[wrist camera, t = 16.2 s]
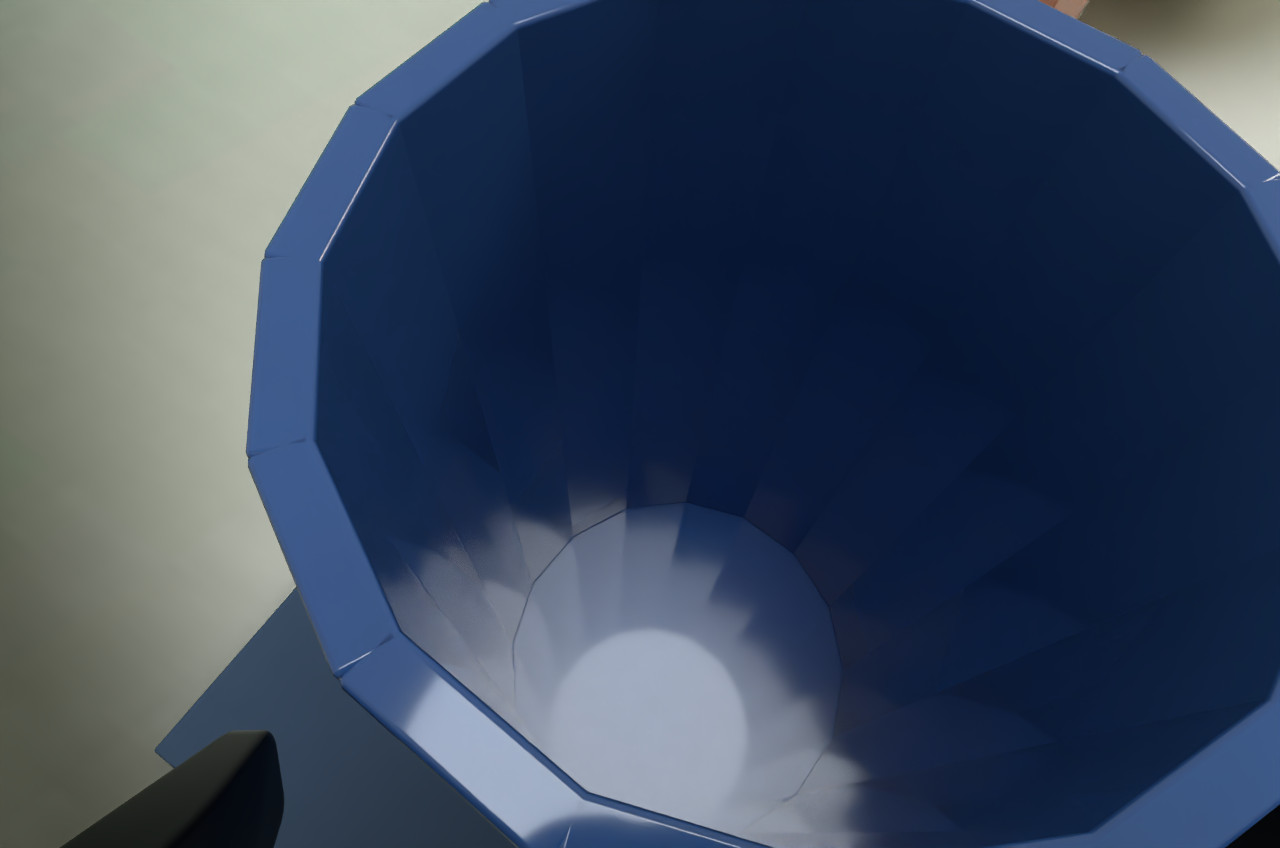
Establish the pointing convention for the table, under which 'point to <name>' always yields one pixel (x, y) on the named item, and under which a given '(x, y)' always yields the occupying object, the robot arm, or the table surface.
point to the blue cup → (790, 427)
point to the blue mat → (327, 750)
